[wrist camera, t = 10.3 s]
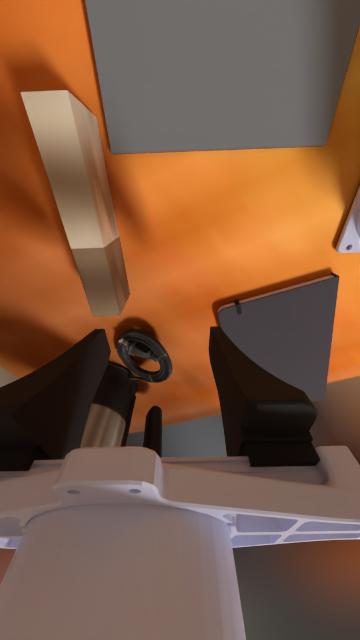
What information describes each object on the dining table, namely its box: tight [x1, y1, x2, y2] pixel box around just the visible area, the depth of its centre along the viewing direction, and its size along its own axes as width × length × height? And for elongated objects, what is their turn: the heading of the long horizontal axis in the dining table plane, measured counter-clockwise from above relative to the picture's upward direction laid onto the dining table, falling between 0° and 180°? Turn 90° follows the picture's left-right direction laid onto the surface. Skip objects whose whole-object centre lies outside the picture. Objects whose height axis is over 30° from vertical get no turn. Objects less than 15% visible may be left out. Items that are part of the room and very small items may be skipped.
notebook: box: [218, 273, 339, 401], centre depth 27 cm, size 13×2×21 cm
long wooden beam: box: [20, 90, 130, 316], centre depth 16 cm, size 14×2×4 cm, turn 2°
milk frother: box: [80, 330, 172, 458], centre depth 22 cm, size 14×16×15 cm
